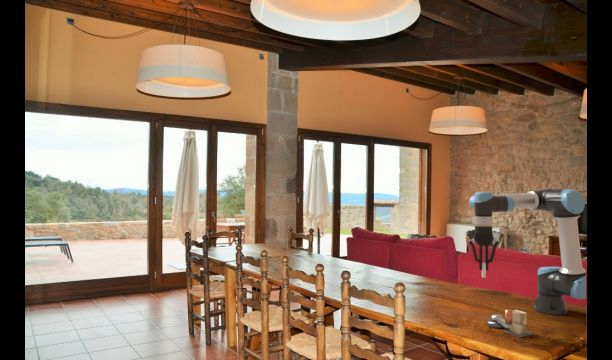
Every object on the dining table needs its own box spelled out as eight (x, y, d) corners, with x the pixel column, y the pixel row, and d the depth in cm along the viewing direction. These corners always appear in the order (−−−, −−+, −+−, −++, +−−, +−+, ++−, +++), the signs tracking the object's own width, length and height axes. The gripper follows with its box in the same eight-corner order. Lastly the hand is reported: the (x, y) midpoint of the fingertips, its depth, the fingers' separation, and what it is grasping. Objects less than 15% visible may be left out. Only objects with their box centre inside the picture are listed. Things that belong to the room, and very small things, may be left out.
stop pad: (515, 328, 205) (515, 327, 205) (533, 334, 197) (533, 333, 197) (502, 331, 201) (502, 330, 201) (519, 337, 193) (519, 336, 193)
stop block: (516, 329, 203) (516, 309, 203) (526, 332, 198) (526, 312, 198) (509, 331, 200) (509, 311, 200) (518, 334, 196) (518, 314, 196)
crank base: (495, 321, 215) (495, 317, 215) (511, 326, 207) (511, 322, 207) (482, 324, 211) (482, 320, 211) (498, 329, 203) (498, 325, 203)
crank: (489, 319, 211) (489, 302, 211) (499, 319, 212) (499, 301, 212) (505, 329, 196) (504, 311, 196) (516, 329, 197) (515, 311, 197)
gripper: (468, 225, 201) (469, 278, 201) (500, 226, 197) (500, 279, 197) (467, 224, 208) (468, 274, 208) (497, 225, 204) (498, 276, 204)
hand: (483, 277), depth 202 cm, fingers closed
